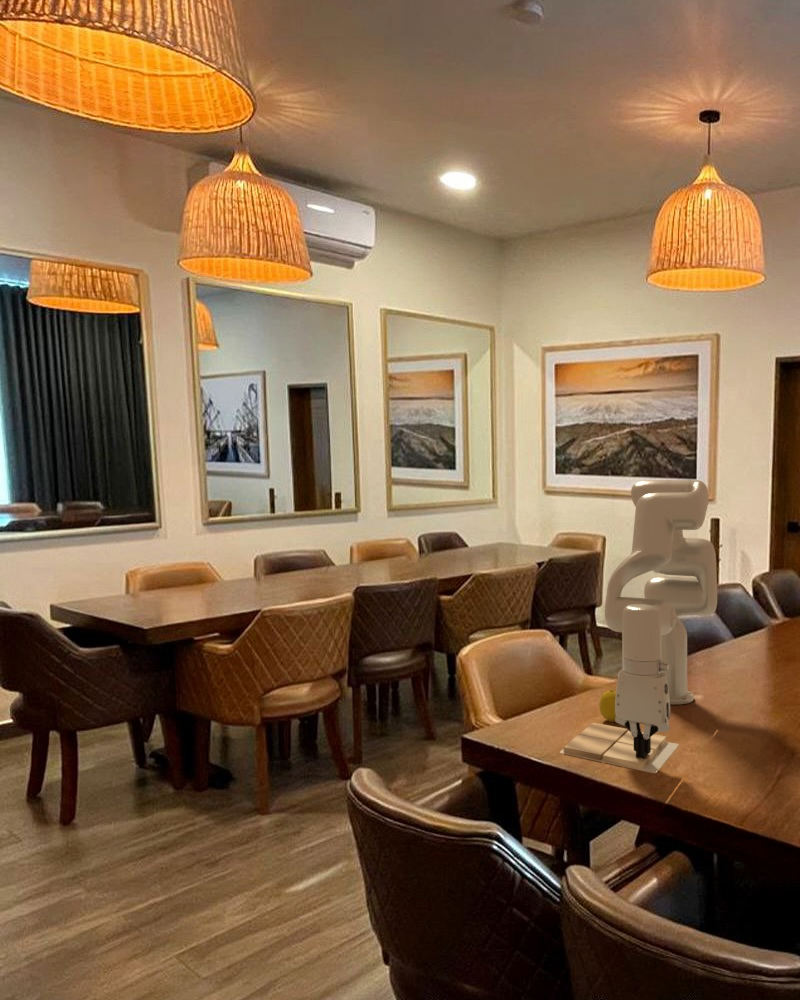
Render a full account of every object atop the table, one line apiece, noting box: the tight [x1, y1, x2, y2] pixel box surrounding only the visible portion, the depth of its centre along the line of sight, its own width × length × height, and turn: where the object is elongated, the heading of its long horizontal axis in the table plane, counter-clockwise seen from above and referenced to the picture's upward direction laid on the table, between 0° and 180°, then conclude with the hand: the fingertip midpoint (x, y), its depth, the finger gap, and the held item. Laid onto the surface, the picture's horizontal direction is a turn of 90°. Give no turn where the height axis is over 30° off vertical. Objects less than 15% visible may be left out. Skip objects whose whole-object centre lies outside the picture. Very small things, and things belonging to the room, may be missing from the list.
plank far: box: [617, 730, 668, 755], centre depth 158 cm, size 8×8×1 cm
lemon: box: [598, 688, 616, 723], centre depth 173 cm, size 6×6×8 cm
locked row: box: [563, 722, 629, 761], centre depth 159 cm, size 18×8×1 cm, turn 145°
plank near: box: [603, 742, 655, 770], centre depth 151 cm, size 8×8×1 cm
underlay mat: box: [559, 741, 680, 775], centre depth 156 cm, size 18×20×1 cm
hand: (642, 755), depth 149 cm, fingers closed
